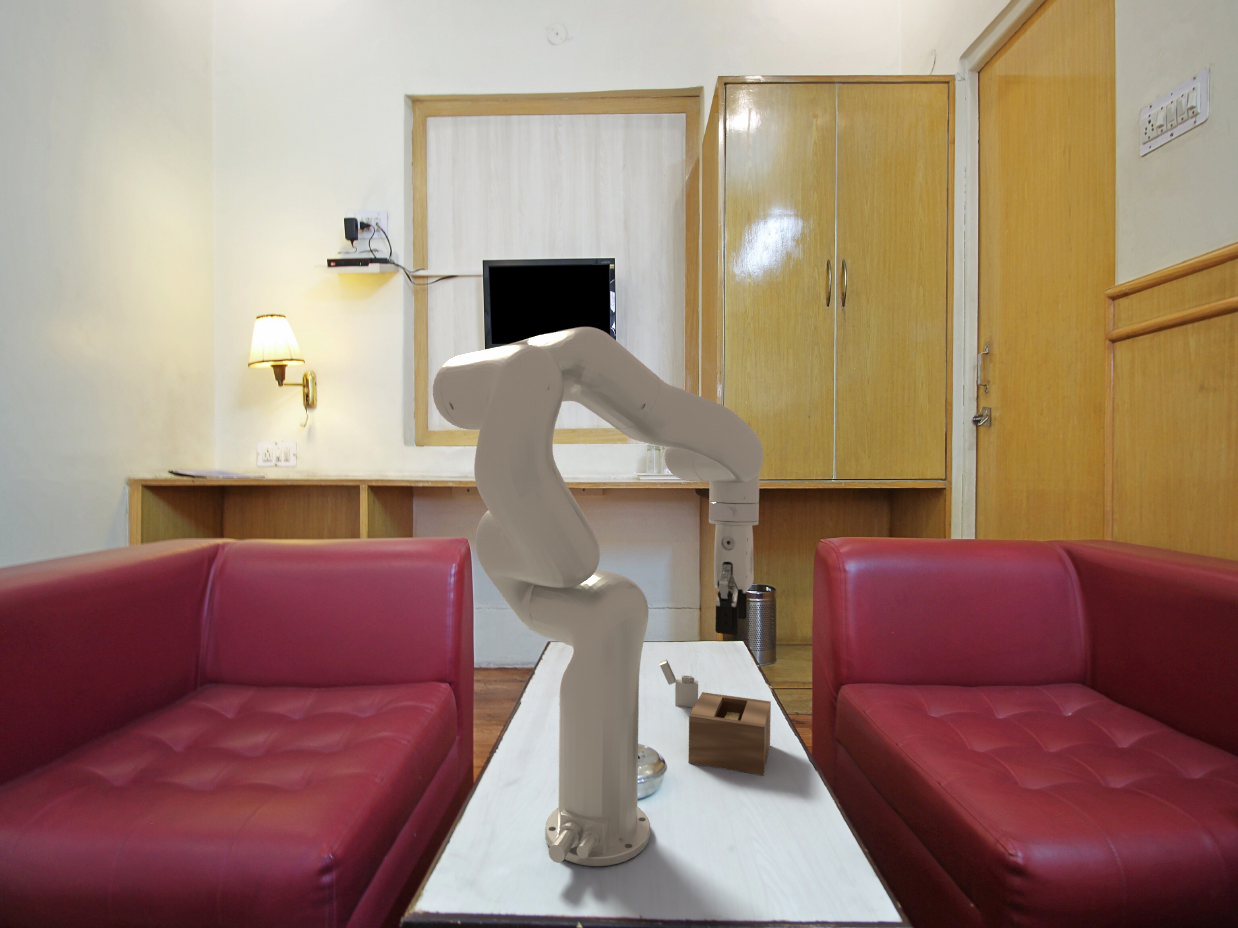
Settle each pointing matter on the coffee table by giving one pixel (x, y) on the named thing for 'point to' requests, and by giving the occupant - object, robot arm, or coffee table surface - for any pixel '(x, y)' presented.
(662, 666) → the lighter
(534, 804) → the coffee table surface
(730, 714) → the gold metal block
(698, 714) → the box
